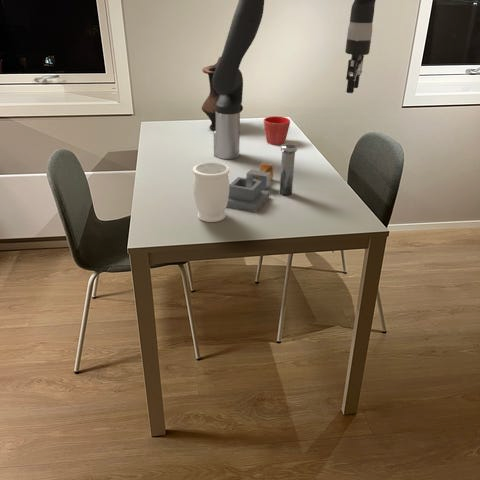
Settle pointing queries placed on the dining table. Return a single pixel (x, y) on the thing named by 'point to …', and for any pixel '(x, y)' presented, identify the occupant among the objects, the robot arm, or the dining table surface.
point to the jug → (212, 97)
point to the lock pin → (266, 170)
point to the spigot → (287, 169)
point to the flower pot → (276, 129)
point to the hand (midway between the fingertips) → (352, 90)
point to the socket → (246, 195)
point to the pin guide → (262, 177)
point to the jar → (211, 190)
